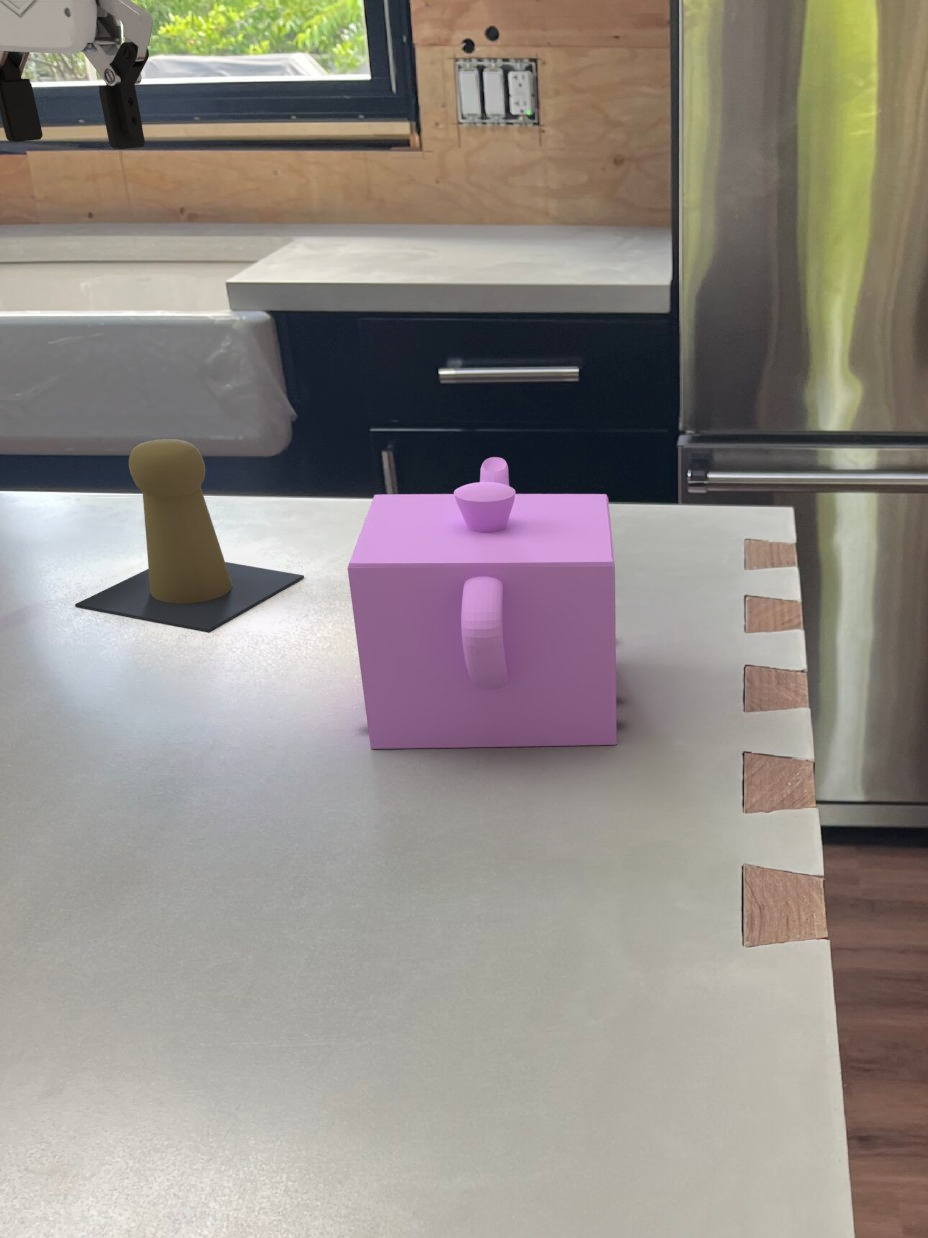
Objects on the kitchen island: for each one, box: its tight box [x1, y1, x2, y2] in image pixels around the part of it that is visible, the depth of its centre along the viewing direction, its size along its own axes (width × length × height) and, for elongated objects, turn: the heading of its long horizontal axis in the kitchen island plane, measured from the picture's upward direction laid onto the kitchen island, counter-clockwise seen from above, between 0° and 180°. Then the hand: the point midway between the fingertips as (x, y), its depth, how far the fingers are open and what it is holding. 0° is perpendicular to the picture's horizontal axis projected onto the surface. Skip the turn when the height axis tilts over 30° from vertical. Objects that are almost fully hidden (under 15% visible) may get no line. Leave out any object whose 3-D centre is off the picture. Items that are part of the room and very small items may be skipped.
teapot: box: [347, 456, 618, 750], centre depth 84 cm, size 15×25×14 cm, turn 5°
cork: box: [128, 438, 233, 604], centre depth 98 cm, size 6×6×11 cm
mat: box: [74, 561, 305, 633], centre depth 101 cm, size 12×12×1 cm
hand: (76, 144), depth 100 cm, fingers open, 9 cm apart
